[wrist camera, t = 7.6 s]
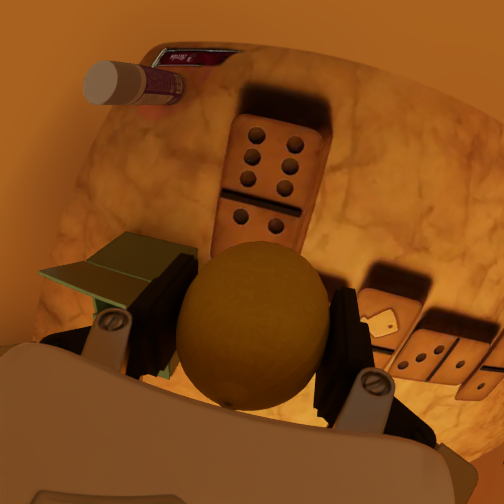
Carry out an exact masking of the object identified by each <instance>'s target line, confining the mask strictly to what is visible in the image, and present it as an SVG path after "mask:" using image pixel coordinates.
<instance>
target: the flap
mask: <svg viewBox="0 0 504 504" xmlns="http://www.w3.org/2000/svg"><path fill="white" fill-rule="evenodd" d="M38 274H39V275H42V276H44V277H46V278H48V279H50V280H53V281H55V282H57V283H60V284H62V285H64V286H67V287H69V288H71V289H74V290H76V291H79V292H81V293H84V294H86V295H89V296H91V297H94V298H96V299H99V300H101V301H104V302H107V303H109V304H112V305H115V306H118V307H120V308H123V309H127V308H128V307H129V306H130V305H131V304H132V302H133V301H134V300H135V299H136V298H137V297H138V296H139V295H140V293H141V292H142V291H143V290H144V289H145V288H146V287H147V286H148V285H149V283H150V282H148V281H145V280H142V279H138V278H135V277H132V276H128V275H125V274H122V273H119V272H116V271H112V270H109V269H106V268H103V267H100V266H97V265H94V264H91V263H88V262H85V261H81V262H77V263H72V264H67V265H62V266H58V267H53V268H49V269H44V270H40V271H38Z"/></svg>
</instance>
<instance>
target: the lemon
mask: <svg viewBox="0 0 504 504" xmlns="http://www.w3.org/2000/svg"><path fill="white" fill-rule="evenodd" d="M330 322H331V320H330V309H329V301H328V296H327V292H326V290H325V287H324V285H323V283H322V281H321V279H320V277H319V275H318V273H317V272H316V270H315V269H314V268H313V267H312V266H311V264H310V263H309V262H308V261H307V260H306V259H305V258H304V257H302V256H301V255H299V254H298V253H297V252H295V251H294V250H292V249H290V248H288V247H285V246H282V245H280V244H277V243H271V242H264V241H258V242H247V243H242V244H239V245H236V246H234V247H231V248H228V249H226V250H225V251H223V252H222V253H220V254H219V255H217V256H216V257H215V258H213V259H212V260H210V261H209V262H208V263H207V264H206V265H205V266H204V267H203V268H202V270H201V271H200V272H199V273H198V275H197V276H196V277H195V279H194V280H193V281H192V283H191V284H190V286H189V288H188V290H187V292H186V294H185V297H184V300H183V303H182V306H181V309H180V313H179V316H178V320H177V326H176V346H177V353H178V357H179V360H180V362H181V365H182V368H183V370H184V372H185V374H186V375H187V377H188V378H189V379H190V381H191V382H192V383H193V385H194V386H195V387H196V388H197V389H198V390H199V391H200V392H201V393H202V394H203V395H205V396H206V397H207V398H209V399H211V400H212V401H214V402H215V403H217V404H219V405H220V406H221V407H223V408H227V409H231V410H242V411H255V410H263V409H268V408H271V407H274V406H277V405H279V404H282V403H284V402H286V401H288V400H290V399H291V398H293V397H294V396H295V395H297V394H298V393H299V392H300V391H301V390H303V389H304V388H305V387H306V386H307V384H308V383H309V381H310V380H311V378H312V377H313V375H314V374H315V372H316V371H317V369H318V367H319V365H320V363H321V361H322V358H323V356H324V353H325V349H326V345H327V341H328V336H329V331H330Z"/></svg>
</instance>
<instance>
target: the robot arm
mask: <svg viewBox="0 0 504 504" xmlns="http://www.w3.org/2000/svg"><path fill="white" fill-rule="evenodd" d="M197 275H198V260H197V259H195V257H194V255H190V254H186V253H180V254H179V255H178V256H177V257H176V258H175V259H174V260H173V261H172V262H171V264H170V265H169V266H168V267H167V268H166V269H165V270H164V271H163V272H162V273H161V275H160V276H159V277H156V278H154V279H153V280H152V281H151V282H150V283H149V285H148V286H147V287H146V288H145V289H144V290H143V291H142V292H141V293H140V295H139V296H138V297H137V298H136V299H135V300H134V301H133V302H132V304H131V305H130V306H129V307H128V308H127V309H126V310H124V309H122V308H108V309H105V310H103V311H101V312H100V313H99V314H97V316H96V318H95V320H94V322H93V325H92V326H88V327H84V328H79V329H74V330H69V331H64V332H60V333H55V334H51V335H48V336H46V337H44V338H43V339H42V340H41V341H40V343H36V342H29V343H22V344H14V345H8V346H0V504H467V502H468V500H469V498H470V496H471V495H472V493H473V491H474V489H475V486H476V485H477V482H478V473H477V470H476V468H474V466H473V465H471V464H470V463H469V462H467V461H466V460H465V459H463V458H462V457H461V456H459V455H458V454H457V453H455V452H454V451H453V450H451V449H450V448H449V447H447V446H446V445H445V444H443V443H441V444H440V445H439V444H438V443H436V435H435V433H434V431H433V430H432V429H431V428H430V427H429V426H428V425H427V424H426V423H425V422H424V421H422V420H421V419H420V418H419V417H418V416H416V415H415V414H414V413H413V412H412V411H411V410H409V409H408V408H407V407H406V406H405V405H404V404H402V403H401V402H400V401H399V400H398V399H396V398H395V397H394V392H395V383H394V380H393V378H392V377H391V376H390V375H389V374H388V373H387V372H386V371H384V370H382V369H379V368H375V365H374V358H373V351H372V344H371V338H370V332H369V326H368V324H367V323H364V322H360V316H359V309H358V303H357V297H356V291H355V289H352V288H347V287H341V289H340V290H339V289H336V290H335V293H334V296H333V299H332V302H331V305H330V308H329V309H330V320H331V322H330V331H329V336H328V341H327V345H326V349H325V353H324V356H323V358H322V361H321V363H320V365H319V367H318V369H317V371H316V378H315V392H314V404H313V408H316V409H318V411H317V417H323V418H324V419H325V420H326V421H327V422H328V424H327V426H326V428H325V427H317V426H310V425H304V424H297V423H292V422H286V421H281V420H275V419H270V418H265V417H261V416H256V415H252V414H247V413H243V412H239V411H235V410H231V409H227V408H223V407H219V406H216V405H212V404H209V403H205V402H202V401H198V400H195V399H192V398H189V397H185V396H182V395H179V394H176V393H173V392H170V391H167V390H164V389H161V388H158V387H156V386H153V385H150V384H147V383H145V382H142V380H143V375H147V374H149V375H152V376H155V377H157V375H158V374H159V372H160V370H161V371H164V370H165V369H166V367H167V365H168V364H169V362H170V360H171V358H172V357H173V355H174V353H175V351H176V350H177V346H176V326H177V320H178V316H179V313H180V309H181V306H182V303H183V300H184V297H185V294H186V292H187V290H188V288H189V286H190V284H191V283H192V281H193V280H194V279H195V277H196V276H197Z"/></svg>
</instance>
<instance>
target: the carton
mask: <svg viewBox="0 0 504 504" xmlns="http://www.w3.org/2000/svg"><path fill="white" fill-rule="evenodd" d="M197 251H198V249H197V248H193V247H188V246H184V245H180V244H176V243H171V242H167V241H163V240H159V239H155V238H150V237H146V236H142V235H138V234H134V233H129V232H124V233H123V234H121V235H120V236H119V237H117V238H116V239H114V240H113V241H112V242H110V243H109V244H107V245H106V246H105V247H103V248H102V249H101V250H99V251H98V252H97V253H95V254H94V255H93V256H91V257H90V258H89V259H87V260H86V262H88V263H91V264H94V265H97V266H100V267H103V268H106V269H109V270H112V271H116V272H119V273H122V274H125V275H128V276H132V277H135V278H138V279H142V280H145V281H148V282H151V281H152V280H153V279H154V278H156V277H159V276H160V275H161V273H162V272H163V271H164V270H165V269H166V268H167V267H168V266H169V265H170V264H171V262H172V261H173V260H174V259H175V258H176V257H177V256H178V255H179V254H180V253H186V254H190V255H194V257H195V259H197ZM92 298H93V303H94V308H95V312H96V314H95V313H93V318H94V320H95V318H96V316H97V314H99V313H100V312H101V311H103V310H105V309H108V308H120V307H118V306H115V305H112V304H109V303H107V302H104V301H101V300H99V299H96V298H94V297H92ZM122 309H123V308H122ZM124 310H126V309H124ZM179 362H180V360H179V357H178V353H177V350H176V351H175V353H174V355H173V357H172V358H171V360H170V362H169V364H168V365H167V367H166V369H165V370H164V371H161V370H160V372H159V374H158V375H157V376H160V377H163V378H165V379H168V380H169V379H170V376H171V377H172V375H173V373H174V371H175V369H176V367H177V366H178V364H179Z"/></svg>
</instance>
